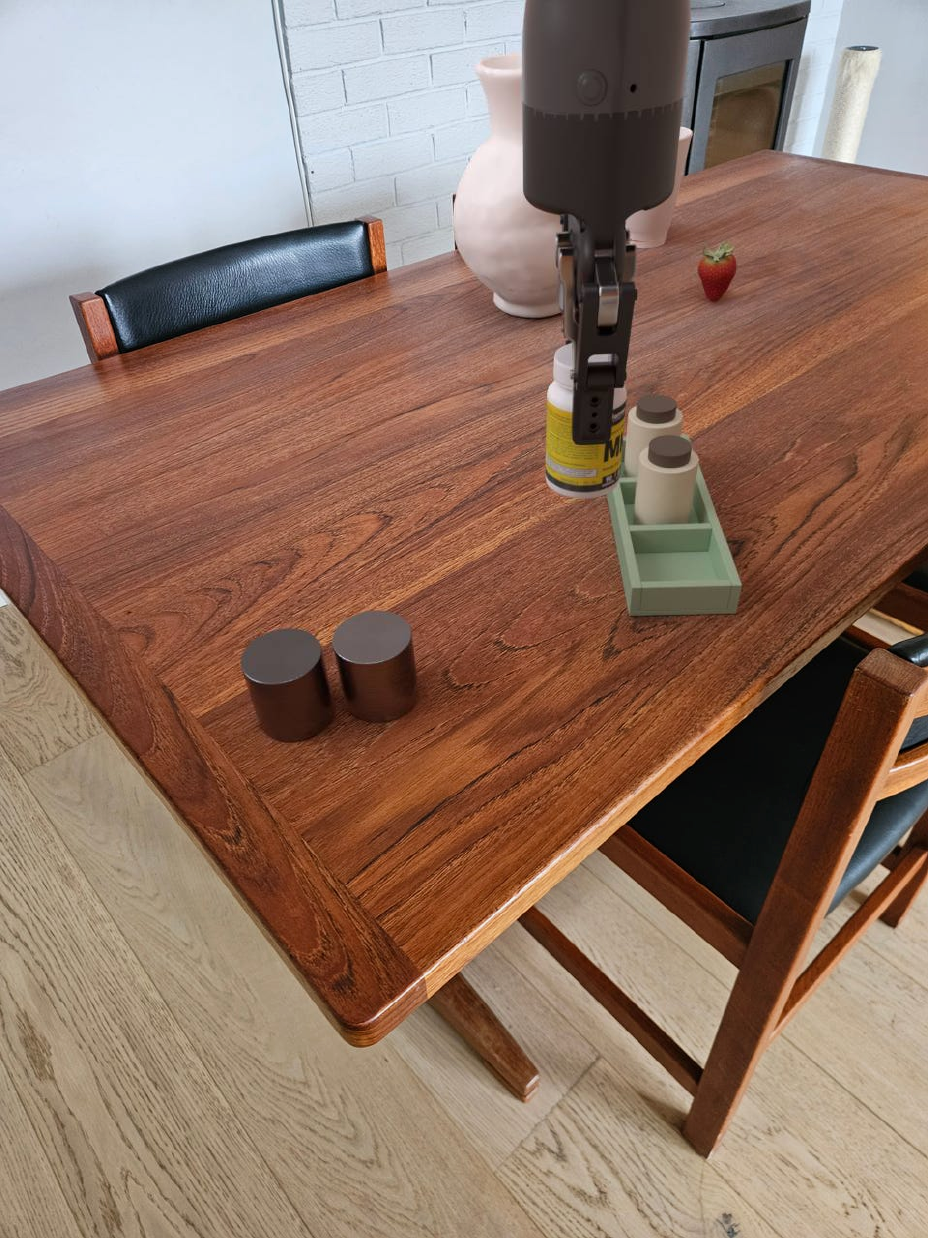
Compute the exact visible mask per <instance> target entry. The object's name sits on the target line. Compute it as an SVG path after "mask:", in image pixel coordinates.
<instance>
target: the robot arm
mask: <svg viewBox="0 0 928 1238" xmlns="http://www.w3.org/2000/svg"><path fill="white" fill-rule="evenodd" d="M691 1H692V0H525V1H524V9H523V19H522V30H521V31H522V32H521V52H522V146H523V193H524V196H525V198H526V200H527V201H528V202H529V203H530V204H531V205H532V206H534V207H535V208H537V209H539V210H542V211H544V212H547V213H551V214H556V215H560V225H562V232H555V248H554V250H555V261H556V267H557V268H558V278H557V298H558V307H559V309H560V311H561V310H562V312H561V317H562V323H561V327H560V330H561V333H563V339H565V345H567V344H571V343H572V370H570V379H572V383H573V403H572V431H571V433H572V439H573V442H574V443H575V444H577V445H596V444H605V443H607V442H608V441H609V440H610V438H611V429H612V415H613V401H614V388H623V387H624V386H625V382H626V381H627V376H628V375H627V365H628V358H629V351H630V343H631V342H630V341H631V336H632V335H631V334H632V327H633V321H634V313H635V305H636V301H638V295H639V294H638V289H637V288H636V283H635V281H634V280H635V278H636V276H637V271H638V270H637V269H638V268H637V267H638V248H637V246H636V244H630V229H629V228H626V227H625V225H626V220H627V219H628V218H629V217H630V216H631V215H633V214H634V213H636V212H638V211H640V210H644V211H647V210H650V209H652V208H655V207H657V206H659V205H660V204H662V203H663V202H665V201H666V200H667V199H668V198H669V197H670V195H671V194H672V191H673V189H674V183H675V173H676V164H677V154H678V145H679V135H680V126H681V127H682V117H683V116H682V115H683V107H684V106H683V105H684V97H685V88H686V87H685V86H686V78H687V69H688V61H689V59H688V58H689V50H690V41H691V27H692V23H691V22H692V2H691ZM600 354H608V361H606V362H588V359H589V357H590V356H592V355H600Z"/></svg>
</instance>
